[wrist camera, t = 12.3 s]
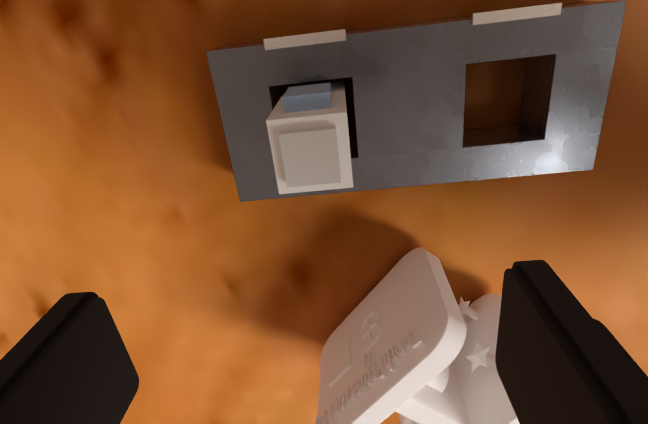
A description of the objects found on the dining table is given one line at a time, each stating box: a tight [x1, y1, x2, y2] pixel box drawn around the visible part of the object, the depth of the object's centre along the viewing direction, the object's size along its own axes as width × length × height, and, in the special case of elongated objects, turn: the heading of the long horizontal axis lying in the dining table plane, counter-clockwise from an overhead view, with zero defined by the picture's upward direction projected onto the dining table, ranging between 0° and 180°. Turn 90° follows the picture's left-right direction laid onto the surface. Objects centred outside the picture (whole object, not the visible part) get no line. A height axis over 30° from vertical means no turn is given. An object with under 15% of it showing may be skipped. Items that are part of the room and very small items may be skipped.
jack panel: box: [206, 1, 627, 202], centre depth 27 cm, size 24×10×4 cm, turn 96°
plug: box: [266, 80, 353, 194], centre depth 24 cm, size 4×5×11 cm
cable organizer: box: [315, 247, 520, 424], centre depth 33 cm, size 15×11×12 cm
